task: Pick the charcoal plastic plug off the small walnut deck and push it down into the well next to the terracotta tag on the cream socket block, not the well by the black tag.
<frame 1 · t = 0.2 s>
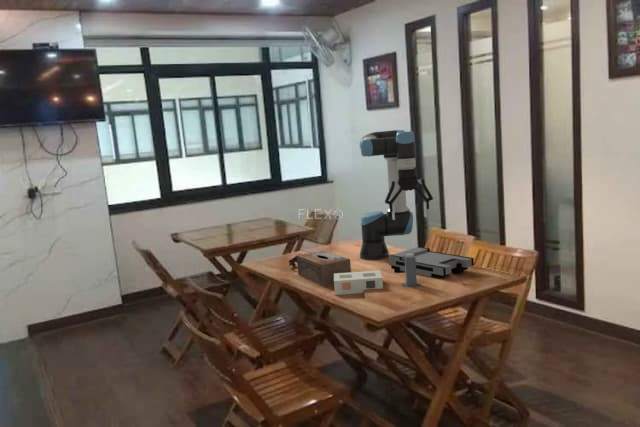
hand: (409, 218, 237), 28 cm above the table, fingers open, 13 cm apart
deck: (411, 288, 231), on the table
office tray: (430, 273, 254), on the table
plug: (411, 284, 231), point 1 cm above the table, touching deck
pottery mug: (301, 268, 281), on the table
socket block: (358, 289, 236), on the table
tissue box cover: (324, 278, 259), on the table
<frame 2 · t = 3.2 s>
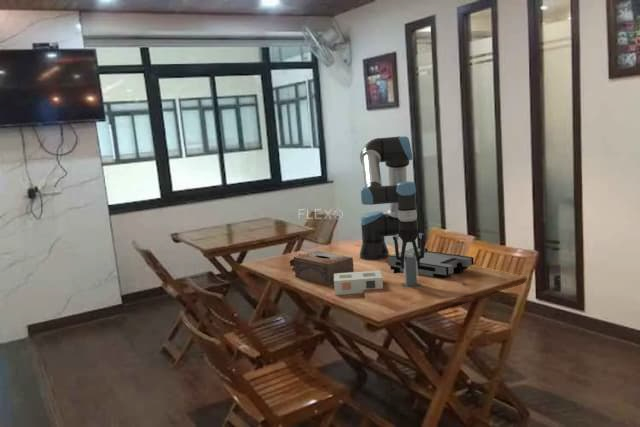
hand: (410, 275, 231), 6 cm above the table, fingers closed on plug, 4 cm apart
plug: (411, 284, 231), point 2 cm above the table, touching gripper
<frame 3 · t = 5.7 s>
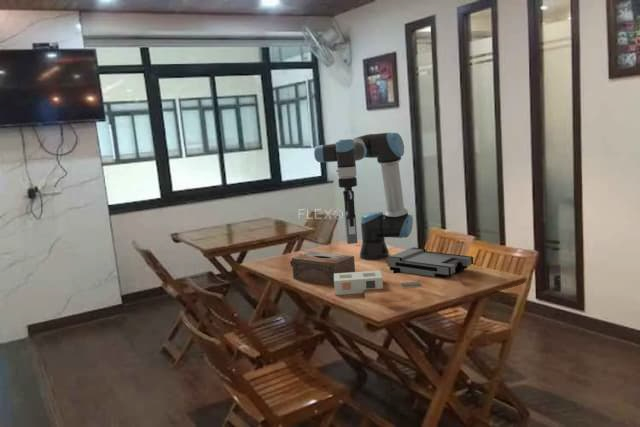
hand: (351, 232, 232), 25 cm above the table, fingers closed on plug, 4 cm apart
plug: (351, 242, 232), point 20 cm above the table, touching gripper
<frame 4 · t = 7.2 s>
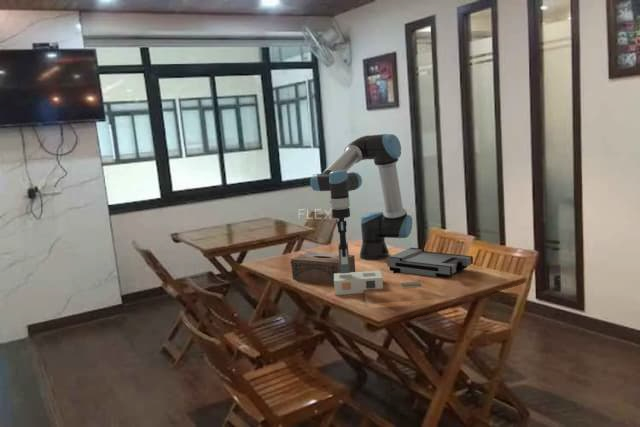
hand: (344, 262, 234), 12 cm above the table, fingers closed on plug, 4 cm apart
plug: (345, 272, 235), point 8 cm above the table, touching gripper
when the fingers open (8 cm above the table, at t = 8.4 s): plug drops 2 cm, resting on socket block.
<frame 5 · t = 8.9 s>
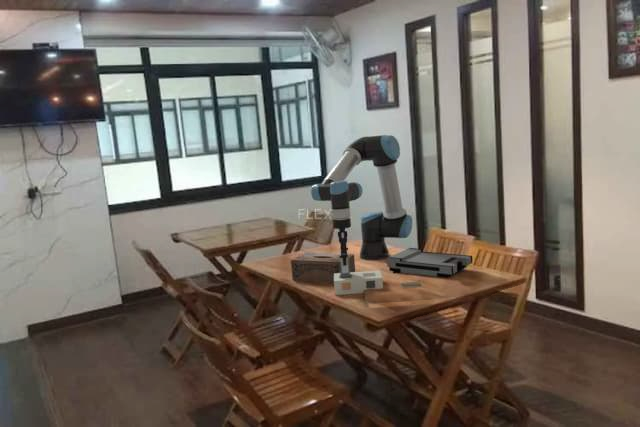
hand: (345, 269, 235), 9 cm above the table, fingers open, 11 cm apart
plug: (346, 287, 236), point 1 cm above the table, touching socket block
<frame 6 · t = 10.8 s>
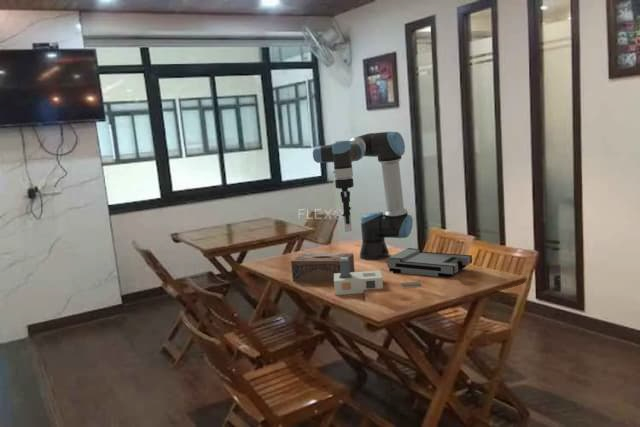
hand: (348, 228, 235), 26 cm above the table, fingers open, 13 cm apart
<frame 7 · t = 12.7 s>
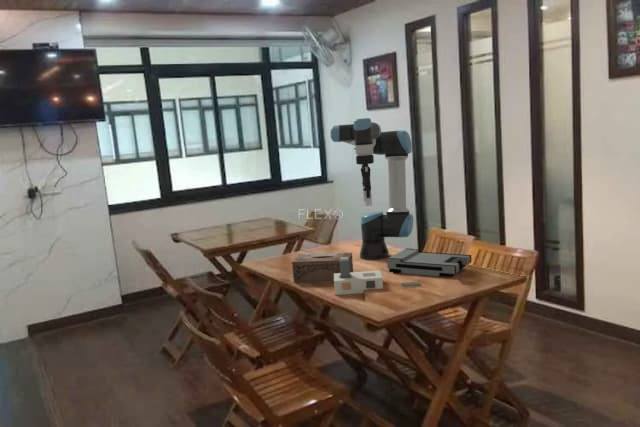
hand: (367, 203, 243), 35 cm above the table, fingers open, 13 cm apart
at the end: plug 0.1 cm from the target spot on the socket block, point 1.0 cm above the socket block's base; plug tilted 0°; the gripper is holding nothing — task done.
